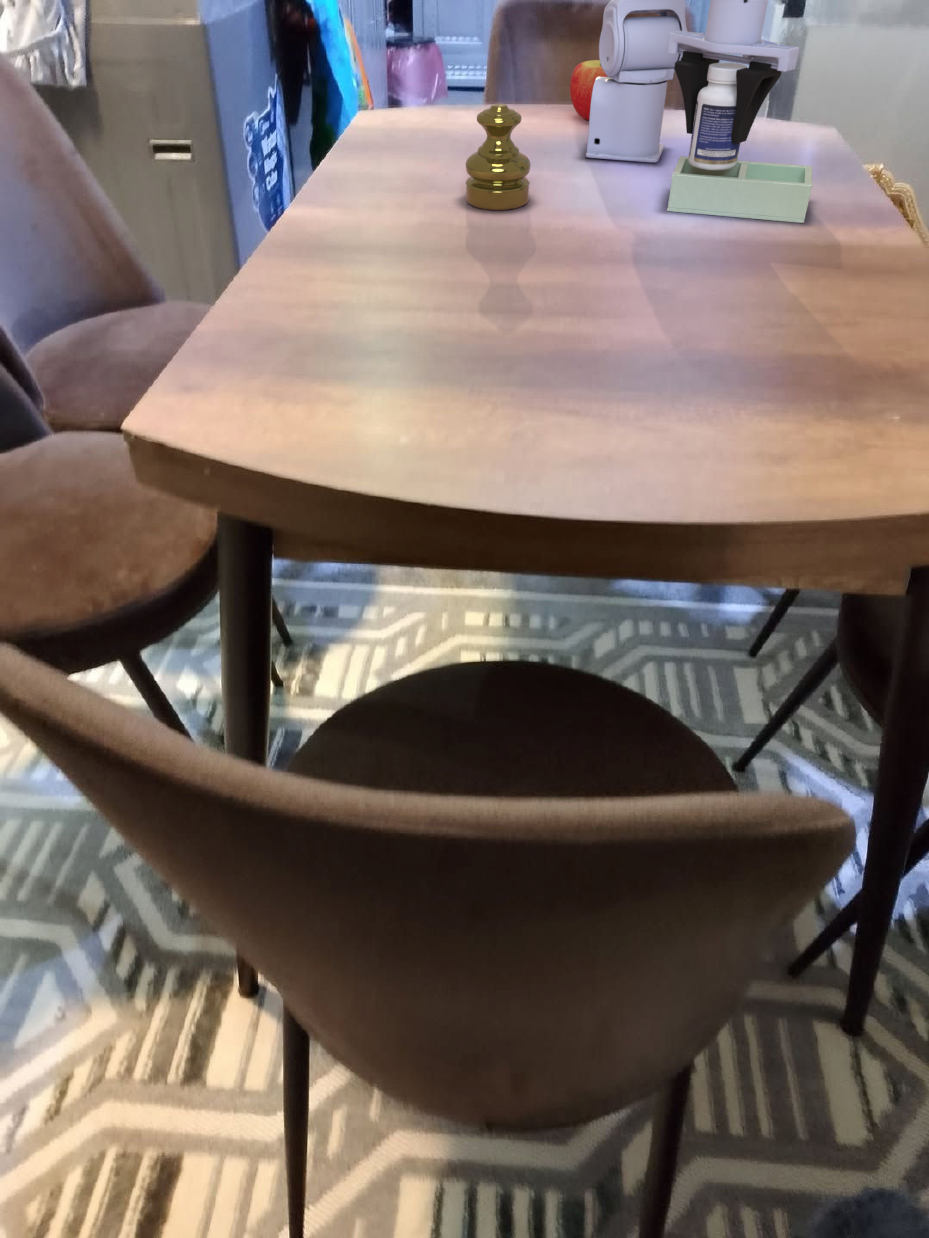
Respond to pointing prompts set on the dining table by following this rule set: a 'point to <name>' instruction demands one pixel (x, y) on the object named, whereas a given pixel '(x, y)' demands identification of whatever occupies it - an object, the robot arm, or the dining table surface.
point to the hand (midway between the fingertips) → (716, 137)
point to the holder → (742, 190)
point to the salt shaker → (498, 164)
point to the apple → (584, 85)
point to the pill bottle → (715, 120)
